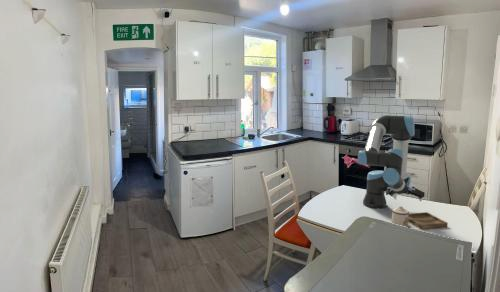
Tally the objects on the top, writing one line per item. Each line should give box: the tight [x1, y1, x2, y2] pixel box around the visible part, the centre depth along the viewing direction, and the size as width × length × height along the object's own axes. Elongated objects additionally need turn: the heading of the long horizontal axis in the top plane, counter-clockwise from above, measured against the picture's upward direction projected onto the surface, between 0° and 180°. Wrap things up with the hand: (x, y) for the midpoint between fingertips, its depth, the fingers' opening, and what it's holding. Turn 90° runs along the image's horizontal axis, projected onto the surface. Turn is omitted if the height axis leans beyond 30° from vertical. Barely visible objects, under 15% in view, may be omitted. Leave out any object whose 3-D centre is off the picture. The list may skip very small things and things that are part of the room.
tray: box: [408, 211, 448, 230], centre depth 210 cm, size 17×17×2 cm
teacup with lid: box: [391, 205, 410, 228], centre depth 207 cm, size 12×9×12 cm
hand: (408, 198), depth 201 cm, fingers open, 13 cm apart
